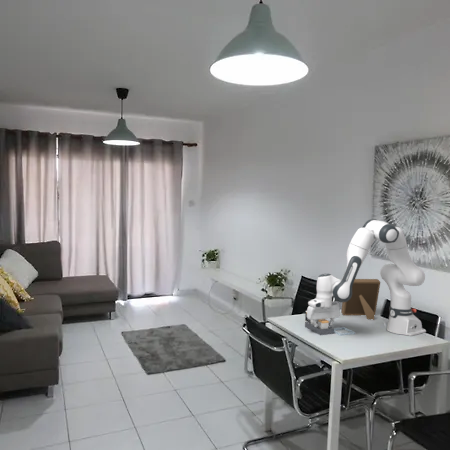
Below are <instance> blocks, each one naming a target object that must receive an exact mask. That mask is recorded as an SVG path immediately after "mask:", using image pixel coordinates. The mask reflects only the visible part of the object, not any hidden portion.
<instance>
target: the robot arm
mask: <svg viewBox="0 0 450 450" xmlns="http://www.w3.org/2000/svg"><path fill="white" fill-rule="evenodd" d="M375 241H378V242H382V243H384V244H385V248H386V252H387V257H388V260H389V261H390V262H392V263H390V264H389V263H385V264H384V265H382V266H381V269H380V271H379V272H380V273H379V274H380V278H381V279H382V280H383V281H384V282H385V284H386V285H387V288H388V289H389V290H388V291H389V293H390V306H389V315H388V322H387V327H386V331H388V332H390V333H392V334H397V335H405V336H410V337H411V336H416V335H420V334H424V333H426V332H427V330H426V329H425V328H423V325H422V324H423V323H422V321H421V320H420V319H419V318H418V317H417V316H416V315H414V313H417V309H416V308H412V295H411V293H410V292H409V291H408V290H407V289H405V287H404V286H410V287H417V286H418V287H419V286H422V285H423V283H424V282H425V280H426V275H425V271H424V270H423V269H422V268H420V267H419V266H417V264H415V262H414V261H413V259H412V258H411V255H410V252H409V249H408V245H407V238H406V236H405V233H404V230H403V229H402V228H401V227H399V226H394V225H393V224H391V223H389V222H386V221H383V220H378V219H376V218H375V219H374V218H372V219H368V220H366V221H365V222H364V224H363V225H362V227H359V228H358V229H357V230H356V232H354V234H353V236H352V237H351V240H350V242H349V243H348V244H349V245H348V247H347V250H346V268H345V271H344V273H343V275H342V278H341V279H340V278H337V277H335V276H334V275H333V274H331V273H322V274H319V275H318V277H317V280H316V296H315V298H314V299H311V300H308V302H307V304H308V307H307V309H306V311H307V318H308V319H309V320H313V322H314V327H318V324H317V323H316V321H317V320H318V319H326V320H327V319H330V320H329V325H328V326H330V327H331V326H333V322H334V321H335V318H340V316H341V311H340V310H341V309H340V303H342V302H347V301H348V300H350V298H351V297H352V286H353V283H354V280H355V279H357V275H358V273H359V270H360V268H361V267H362V264H363V262H364V261H365V259H366V258H367V256H368V254H369V252H370V249H371V247H372V244H374V242H375ZM333 299H335V300H334V301H333ZM309 305H310V306H309Z"/></svg>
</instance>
